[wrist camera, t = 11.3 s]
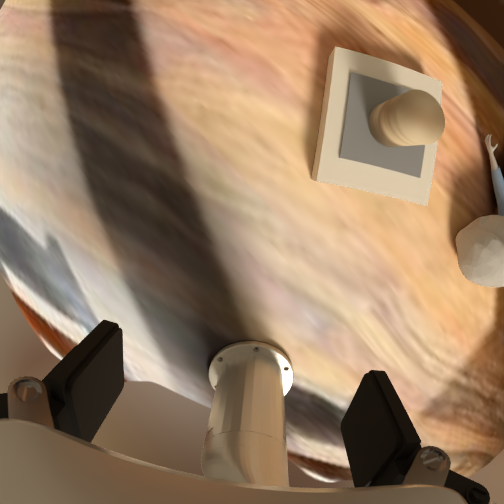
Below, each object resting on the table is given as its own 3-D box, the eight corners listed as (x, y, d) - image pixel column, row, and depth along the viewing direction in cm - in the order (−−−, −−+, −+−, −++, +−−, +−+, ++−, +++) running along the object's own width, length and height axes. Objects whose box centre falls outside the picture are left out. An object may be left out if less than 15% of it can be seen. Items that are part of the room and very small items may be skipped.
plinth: (412, 201, 36) (429, 206, 31) (311, 179, 36) (317, 181, 31) (427, 87, 31) (444, 81, 27) (328, 57, 31) (336, 44, 27)
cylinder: (405, 151, 30) (442, 151, 22) (365, 141, 30) (394, 136, 22) (410, 110, 28) (446, 99, 21) (370, 98, 28) (399, 82, 21)
